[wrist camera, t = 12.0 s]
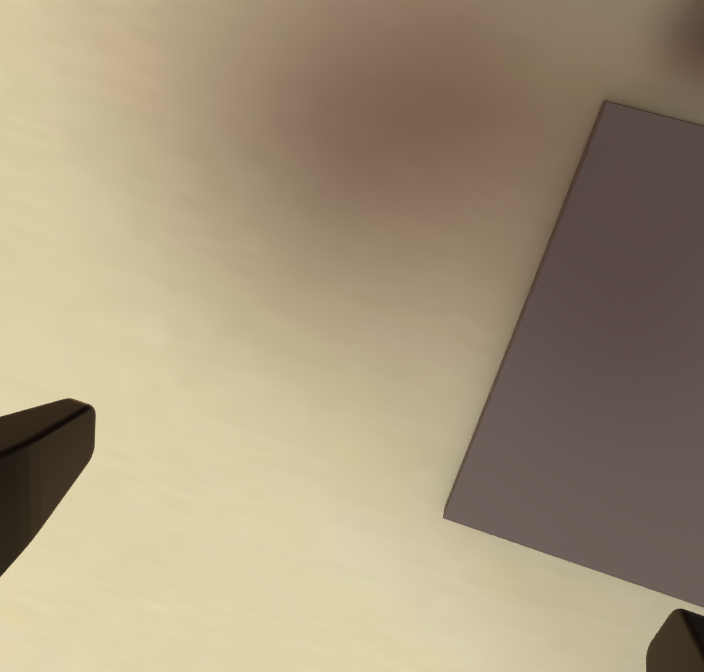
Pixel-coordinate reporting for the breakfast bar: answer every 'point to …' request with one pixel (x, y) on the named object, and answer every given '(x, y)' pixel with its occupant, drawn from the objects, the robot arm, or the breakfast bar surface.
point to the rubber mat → (607, 372)
